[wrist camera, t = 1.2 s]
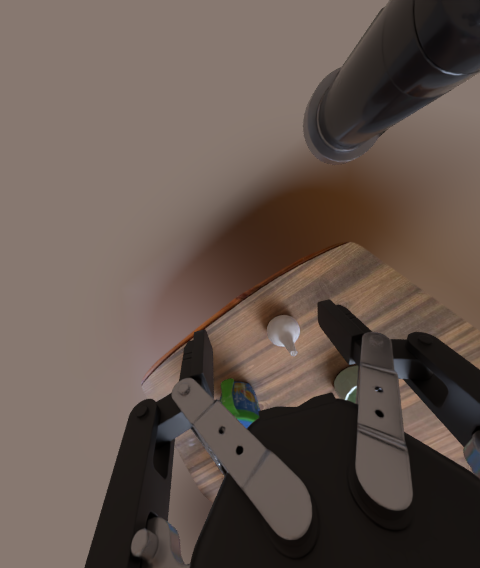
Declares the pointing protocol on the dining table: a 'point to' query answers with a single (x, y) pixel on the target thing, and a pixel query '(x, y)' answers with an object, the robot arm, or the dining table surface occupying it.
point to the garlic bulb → (284, 332)
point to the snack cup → (240, 401)
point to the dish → (347, 384)
